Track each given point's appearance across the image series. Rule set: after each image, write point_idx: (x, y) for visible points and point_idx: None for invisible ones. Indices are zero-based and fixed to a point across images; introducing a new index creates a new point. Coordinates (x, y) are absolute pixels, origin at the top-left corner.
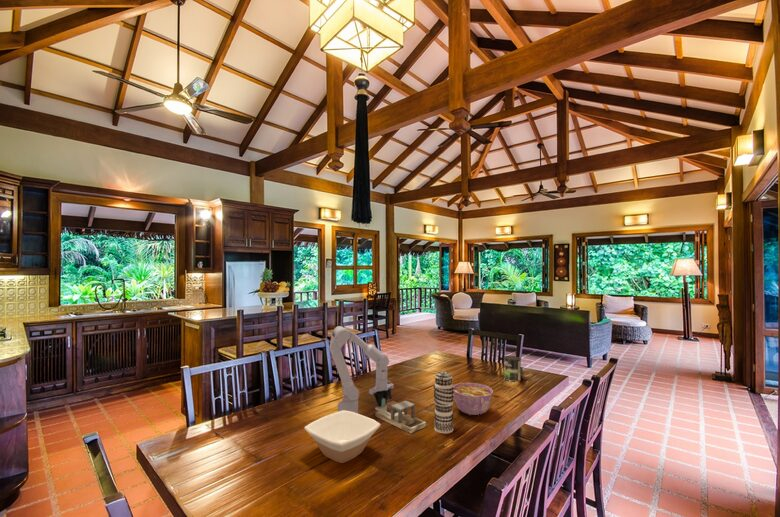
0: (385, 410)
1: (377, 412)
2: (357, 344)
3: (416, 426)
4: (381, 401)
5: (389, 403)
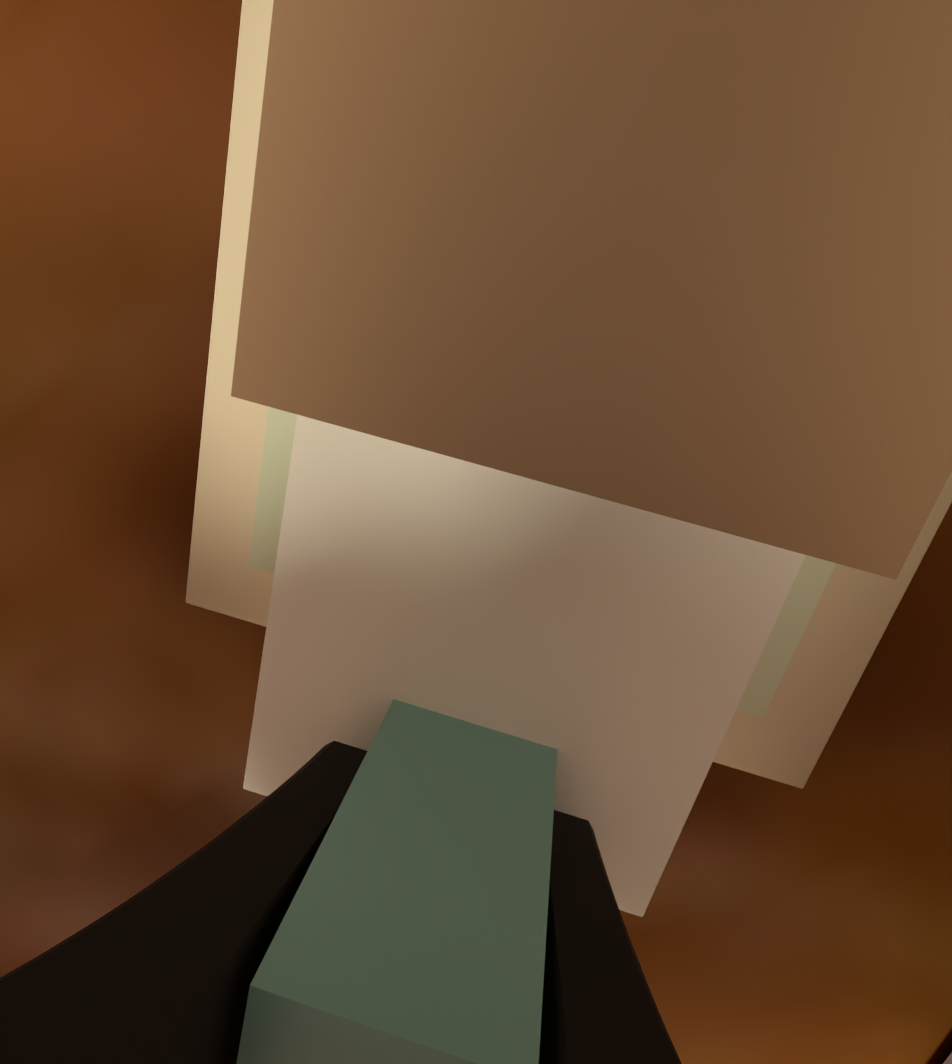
0: (679, 533)
1: (801, 731)
2: None
3: None
4: (568, 975)
5: (911, 292)
